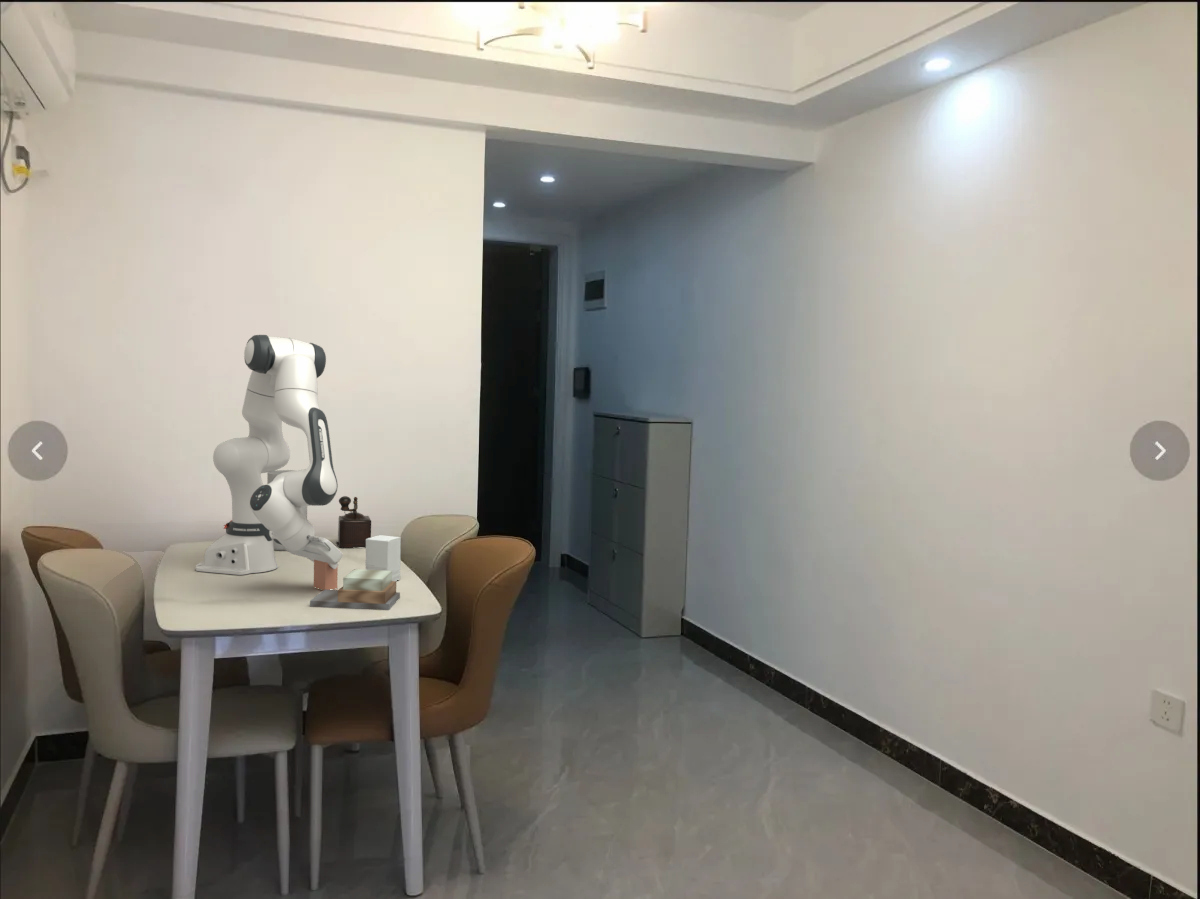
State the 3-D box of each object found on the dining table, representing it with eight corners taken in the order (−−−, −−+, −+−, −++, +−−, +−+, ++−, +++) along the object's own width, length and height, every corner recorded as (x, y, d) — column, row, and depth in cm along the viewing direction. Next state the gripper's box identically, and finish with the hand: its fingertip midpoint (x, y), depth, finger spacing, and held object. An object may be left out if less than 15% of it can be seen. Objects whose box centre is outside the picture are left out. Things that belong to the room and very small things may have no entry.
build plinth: (309, 606, 229) (310, 577, 228) (324, 594, 241) (325, 567, 240) (388, 609, 229) (389, 580, 228) (399, 598, 241) (400, 570, 240)
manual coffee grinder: (335, 542, 311) (336, 490, 310) (368, 541, 315) (369, 490, 313) (337, 551, 296) (338, 497, 295) (372, 550, 300) (373, 497, 299)
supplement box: (401, 580, 261) (402, 536, 260) (386, 585, 254) (387, 540, 253) (378, 577, 263) (379, 534, 262) (364, 582, 256) (365, 538, 255)
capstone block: (325, 591, 245) (325, 558, 244) (313, 588, 248) (314, 555, 247) (337, 588, 248) (337, 556, 247) (325, 585, 251) (326, 553, 250)
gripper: (329, 530, 235) (359, 561, 243) (282, 519, 247) (312, 550, 255) (314, 549, 231) (345, 580, 240) (267, 538, 244) (298, 568, 252)
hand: (327, 565), depth 248 cm, fingers closed on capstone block, 5 cm apart
